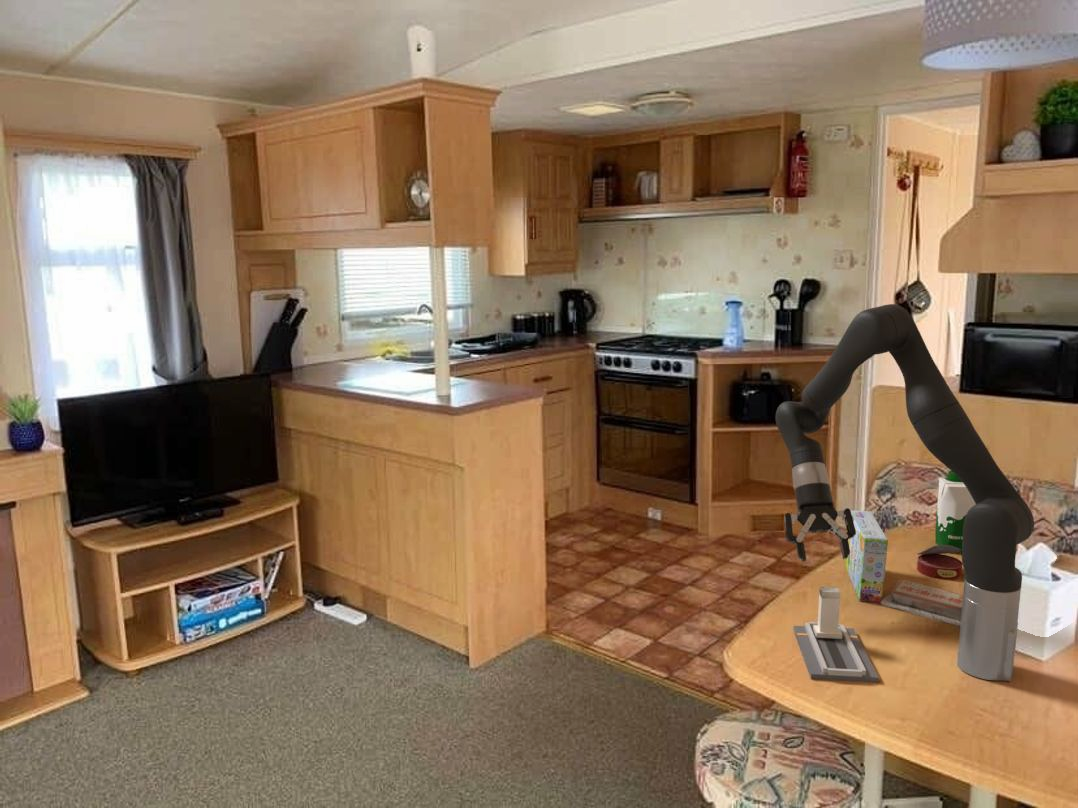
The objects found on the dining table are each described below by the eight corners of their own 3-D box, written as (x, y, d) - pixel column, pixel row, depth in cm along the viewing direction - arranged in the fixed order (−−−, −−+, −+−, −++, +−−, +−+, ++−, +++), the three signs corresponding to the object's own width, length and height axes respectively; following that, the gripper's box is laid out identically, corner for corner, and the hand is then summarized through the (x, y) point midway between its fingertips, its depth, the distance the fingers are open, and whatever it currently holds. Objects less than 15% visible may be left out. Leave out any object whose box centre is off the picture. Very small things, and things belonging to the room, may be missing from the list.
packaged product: (983, 594, 179) (968, 609, 172) (981, 615, 180) (966, 631, 173) (898, 572, 191) (881, 586, 184) (896, 592, 192) (879, 606, 185)
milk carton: (965, 543, 222) (971, 470, 218) (977, 555, 213) (984, 480, 209) (930, 541, 223) (936, 469, 220) (940, 553, 215) (946, 479, 211)
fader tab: (838, 630, 170) (840, 586, 168) (842, 638, 166) (844, 593, 165) (813, 629, 171) (815, 585, 169) (816, 637, 167) (818, 592, 165)
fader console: (853, 632, 172) (853, 623, 172) (878, 682, 152) (879, 672, 152) (793, 630, 174) (793, 621, 173) (810, 678, 154) (811, 669, 154)
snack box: (885, 603, 186) (889, 539, 183) (858, 601, 187) (862, 538, 184) (867, 567, 206) (871, 509, 203) (843, 566, 207) (847, 508, 204)
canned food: (920, 592, 202) (901, 555, 203) (932, 576, 210) (914, 540, 210) (966, 583, 195) (946, 544, 195) (977, 566, 202) (958, 529, 202)
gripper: (780, 484, 181) (792, 558, 174) (848, 478, 179) (863, 553, 172) (776, 494, 187) (788, 565, 181) (842, 488, 186) (856, 560, 179)
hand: (824, 559), depth 177 cm, fingers open, 8 cm apart
